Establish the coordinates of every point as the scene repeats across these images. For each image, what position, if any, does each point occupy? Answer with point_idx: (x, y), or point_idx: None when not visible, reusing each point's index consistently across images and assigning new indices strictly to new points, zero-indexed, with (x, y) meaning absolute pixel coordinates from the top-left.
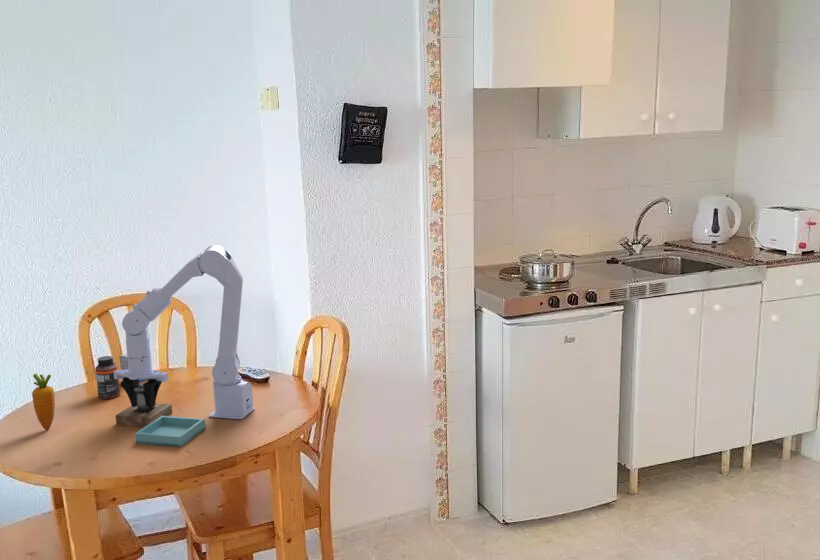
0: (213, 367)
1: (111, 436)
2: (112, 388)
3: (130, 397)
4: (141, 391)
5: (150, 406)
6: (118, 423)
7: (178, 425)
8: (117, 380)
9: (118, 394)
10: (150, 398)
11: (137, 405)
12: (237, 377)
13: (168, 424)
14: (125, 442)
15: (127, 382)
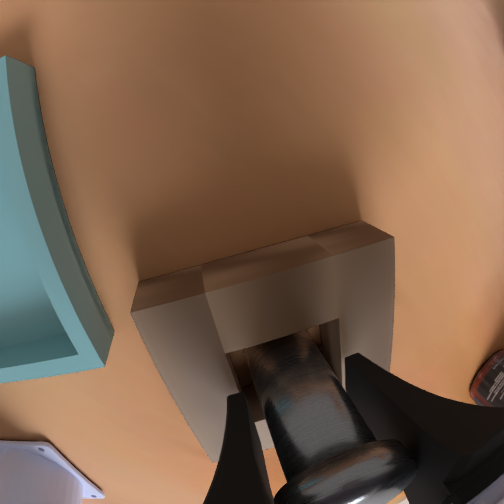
0: None
1: (254, 65)
2: (495, 390)
3: (392, 387)
4: (307, 474)
5: (227, 403)
6: (353, 225)
7: (19, 341)
8: None
9: (472, 390)
10: (222, 451)
11: (323, 372)
12: None
13: (64, 333)
14: (97, 41)
15: (471, 465)
